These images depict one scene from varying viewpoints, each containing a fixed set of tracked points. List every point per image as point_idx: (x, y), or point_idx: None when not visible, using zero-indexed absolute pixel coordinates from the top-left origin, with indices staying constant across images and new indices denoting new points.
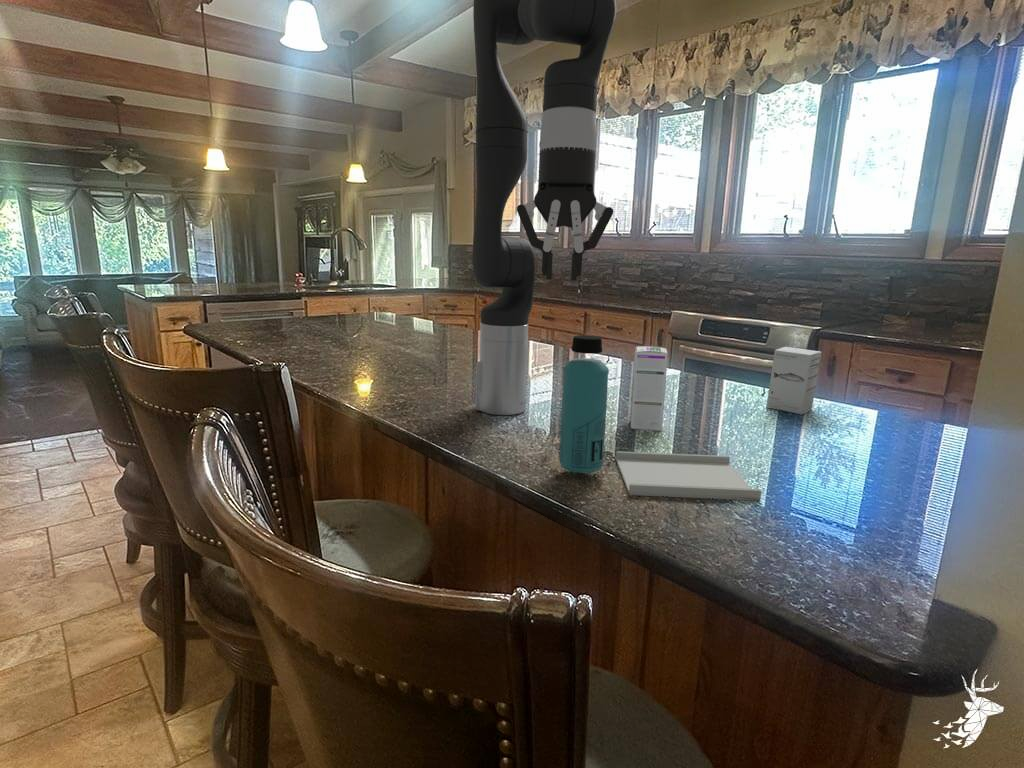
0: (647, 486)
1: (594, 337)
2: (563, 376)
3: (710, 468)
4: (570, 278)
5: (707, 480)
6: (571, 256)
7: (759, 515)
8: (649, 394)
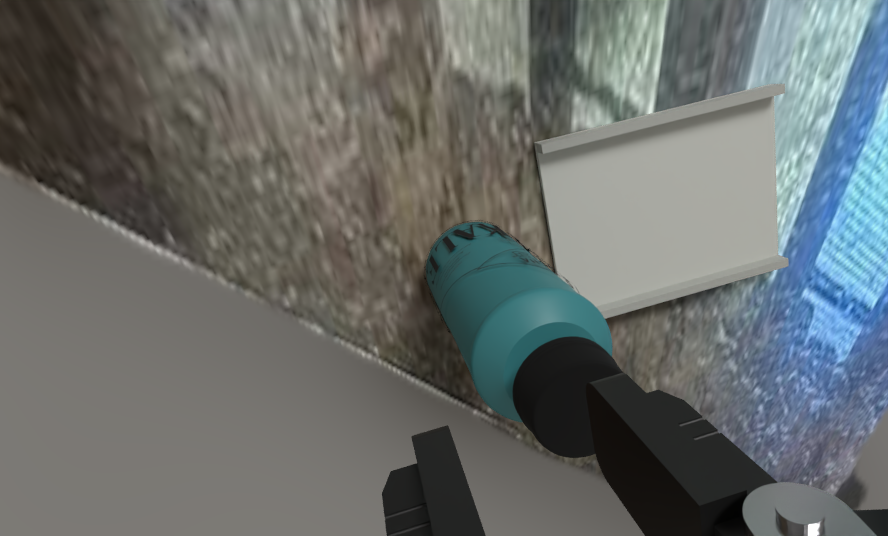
0: None
1: None
2: (469, 368)
3: (728, 141)
4: (590, 394)
5: (708, 213)
6: (681, 486)
7: (755, 317)
8: None
